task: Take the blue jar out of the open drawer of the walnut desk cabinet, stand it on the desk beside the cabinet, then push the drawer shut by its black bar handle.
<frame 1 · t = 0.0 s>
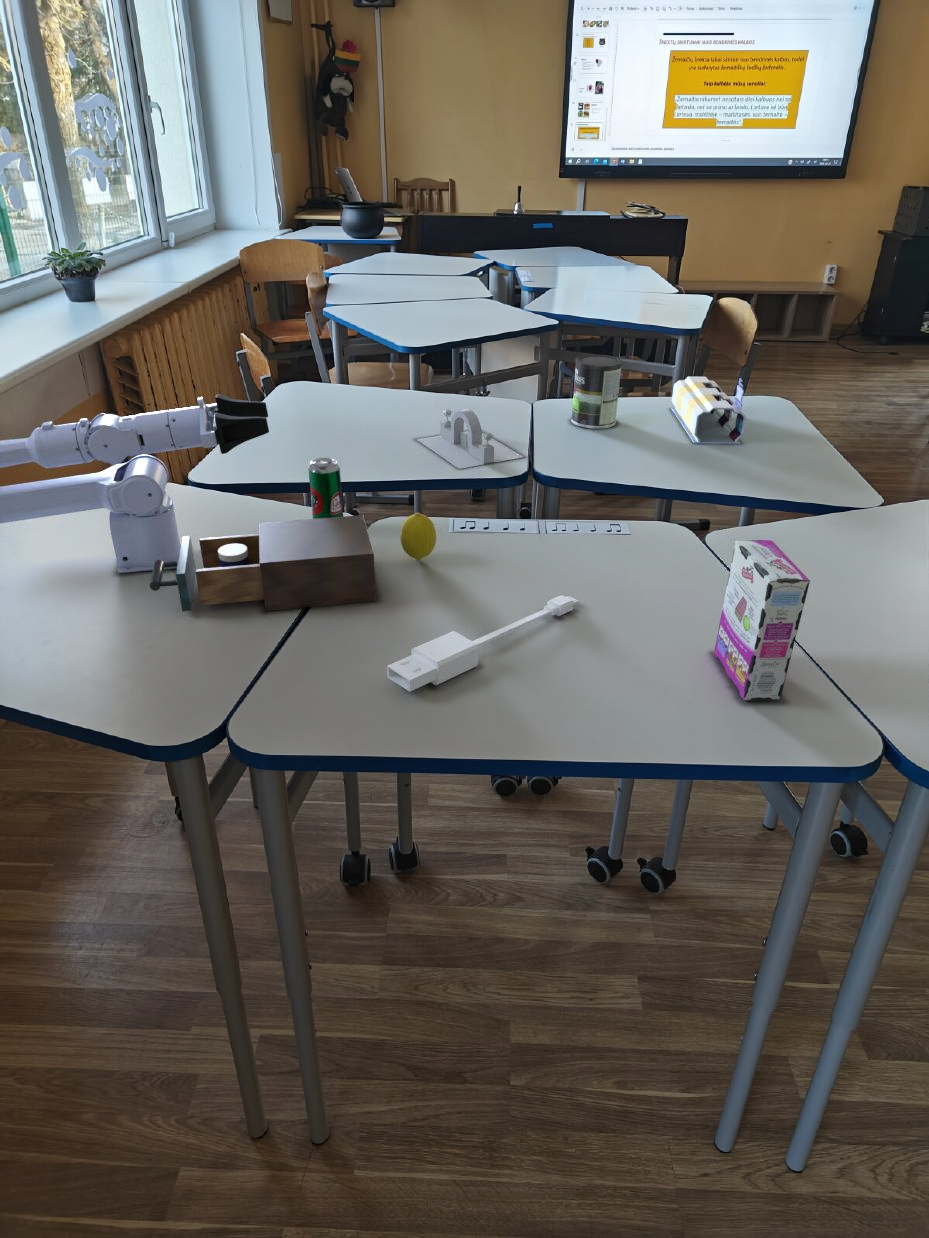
hand: (267, 417, 126), 22 cm above the table, tool horizontal, fingers open, 7 cm apart
lemon: (418, 561, 135), on the table
coffee can: (593, 423, 196), on the table
candy bar box: (746, 677, 107), on the table
cabinet: (318, 584, 127), on the table
charging cable: (489, 647, 113), on the table
gateway: (468, 449, 180), on the table
blue jar: (236, 579, 124), point 2 cm above the table, touching drawer
diorama: (703, 426, 195), on the table
soda can: (329, 531, 144), on the table
drawer: (219, 569, 123), point 4 cm above the table, slide at 10.0 cm, touching blue jar
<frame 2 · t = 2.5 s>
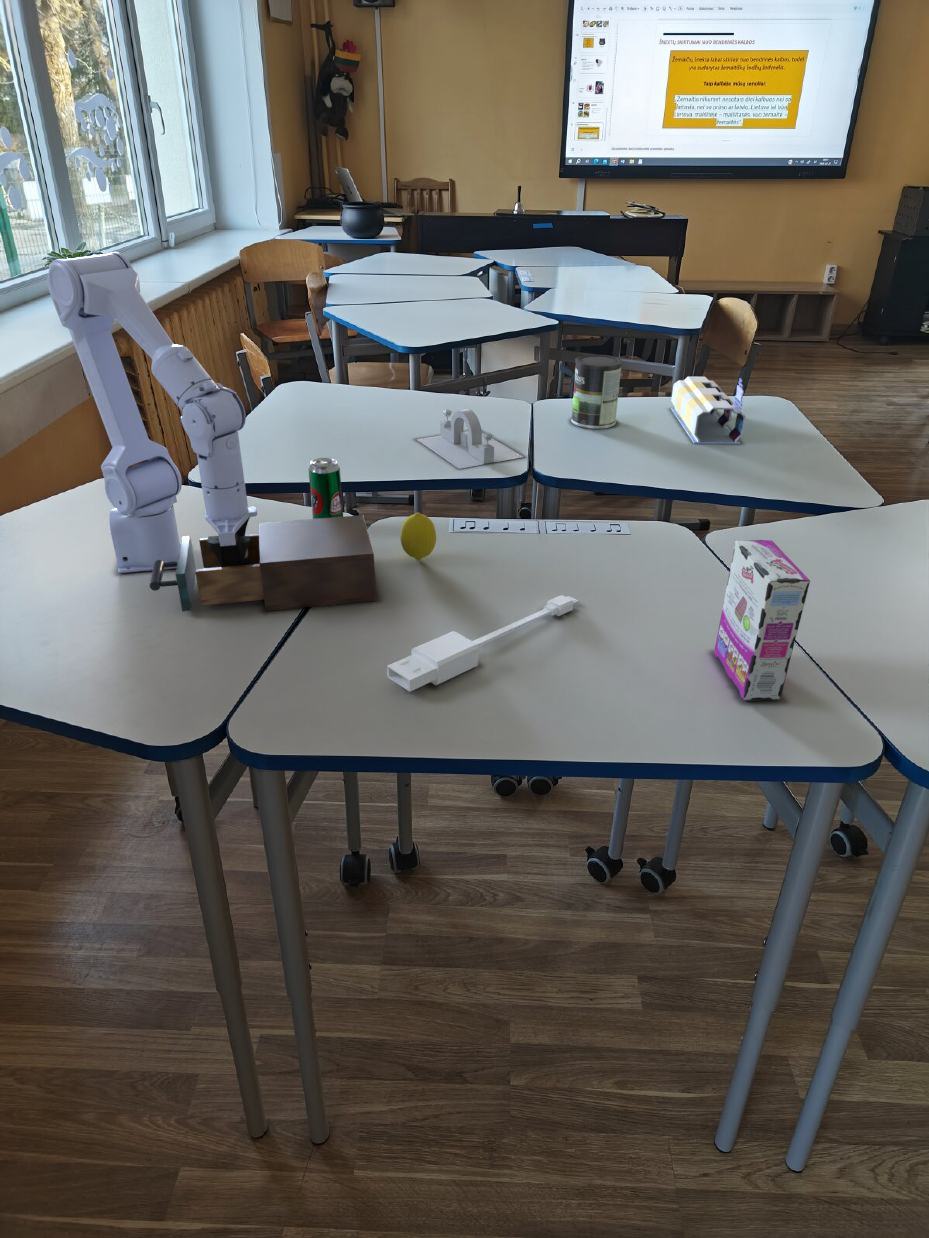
hand: (236, 570, 123), 3 cm above the table, tool pointing down, fingers open, 6 cm apart
drawer: (219, 569, 123), point 4 cm above the table, slide at 10.0 cm, touching blue jar, gripper
everything else where it was.
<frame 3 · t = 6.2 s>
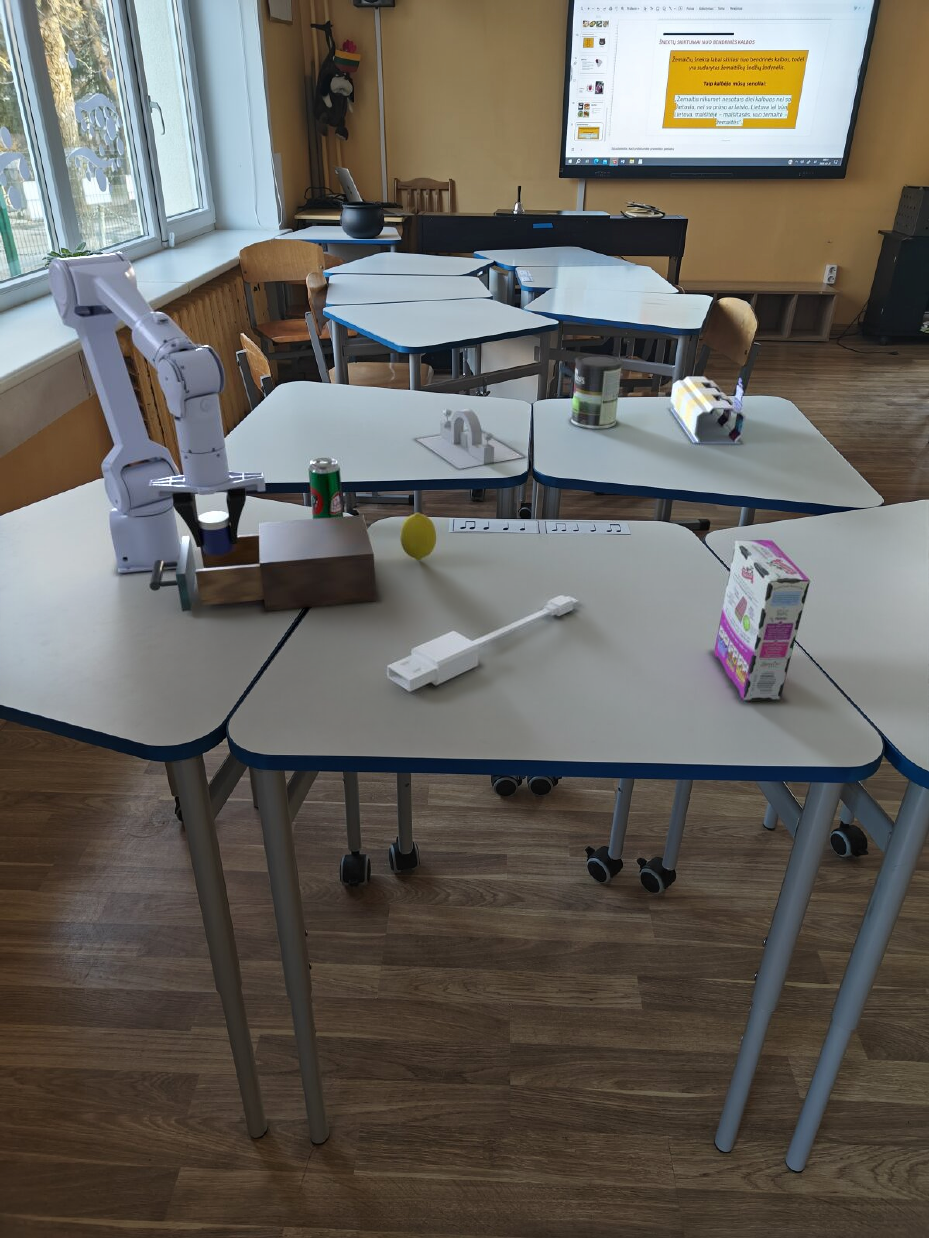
hand: (217, 542, 116), 10 cm above the table, tool pointing down, fingers closed on blue jar, 4 cm apart
blue jar: (218, 549, 117), point 9 cm above the table, touching gripper
drawer: (219, 569, 123), point 4 cm above the table, slide at 10.0 cm
everything else where it was.
when the fingers open (1 cm above the table, at t = 9.5 s): blue jar stays where it is, on the table.
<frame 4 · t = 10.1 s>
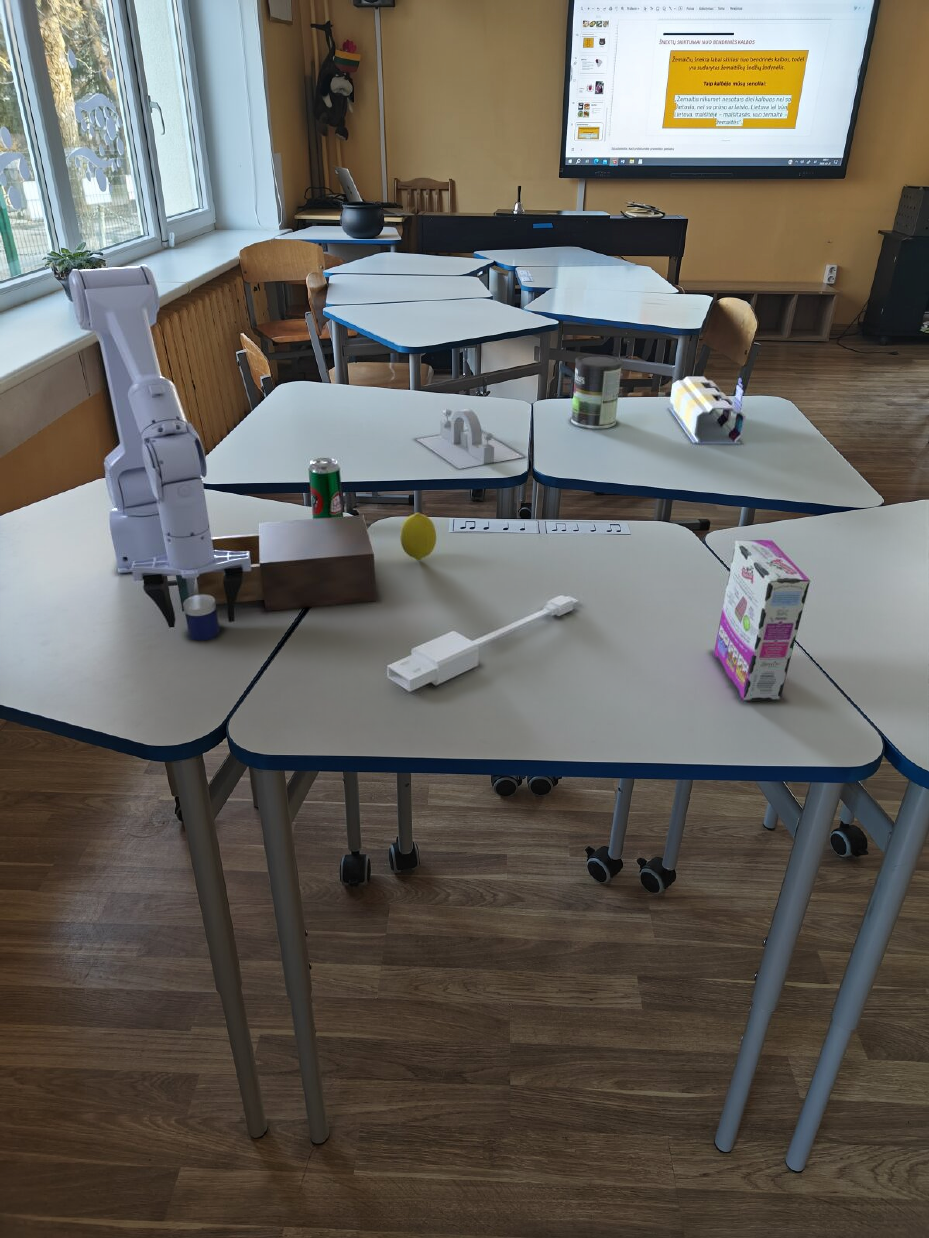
hand: (202, 621, 114), 2 cm above the table, tool pointing down, fingers open, 7 cm apart
blue jar: (204, 632, 115), on the table
everything else where it was.
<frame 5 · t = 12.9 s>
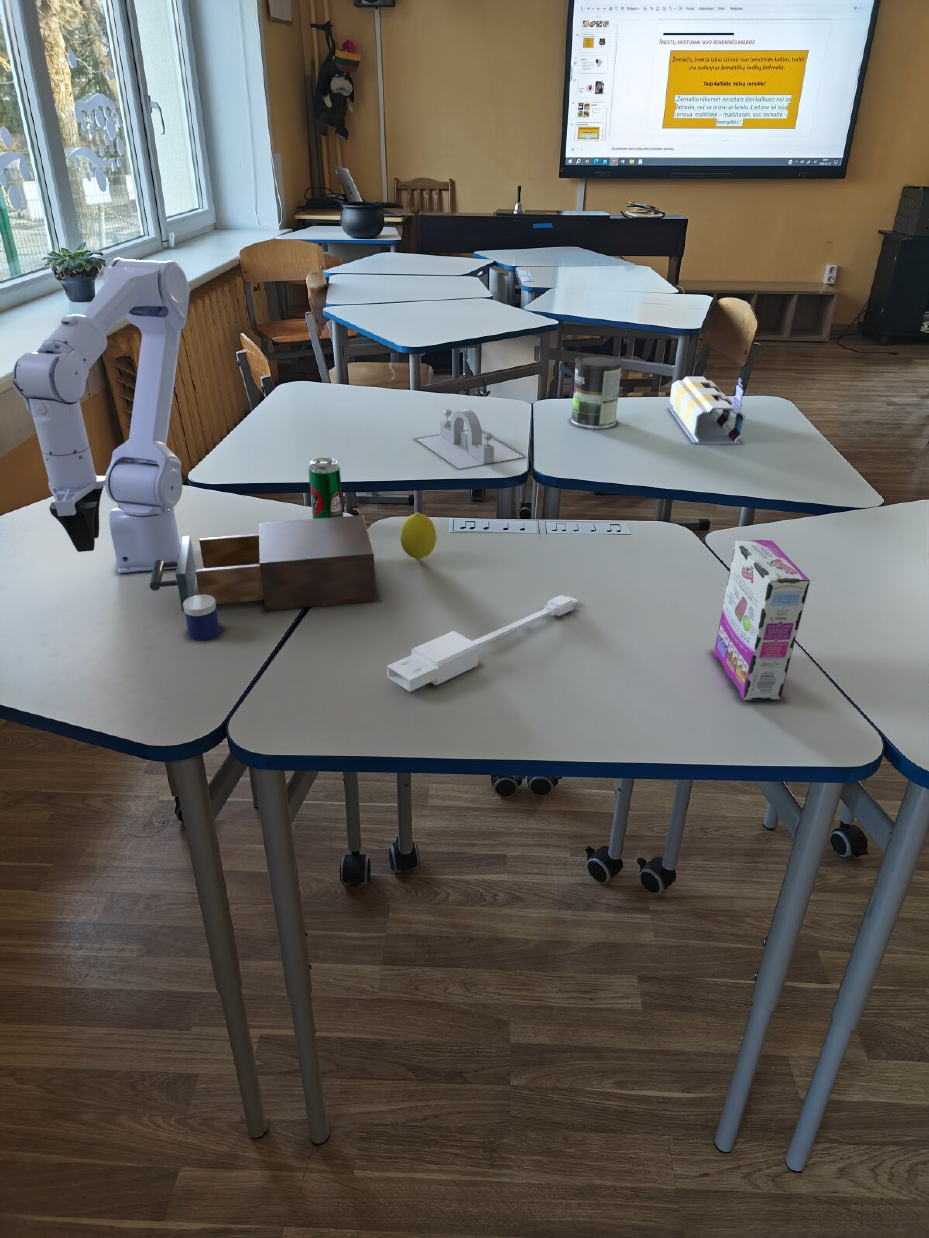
hand: (88, 543, 117), 9 cm above the table, tool pointing down, fingers open, 3 cm apart
nothing on the table moved.
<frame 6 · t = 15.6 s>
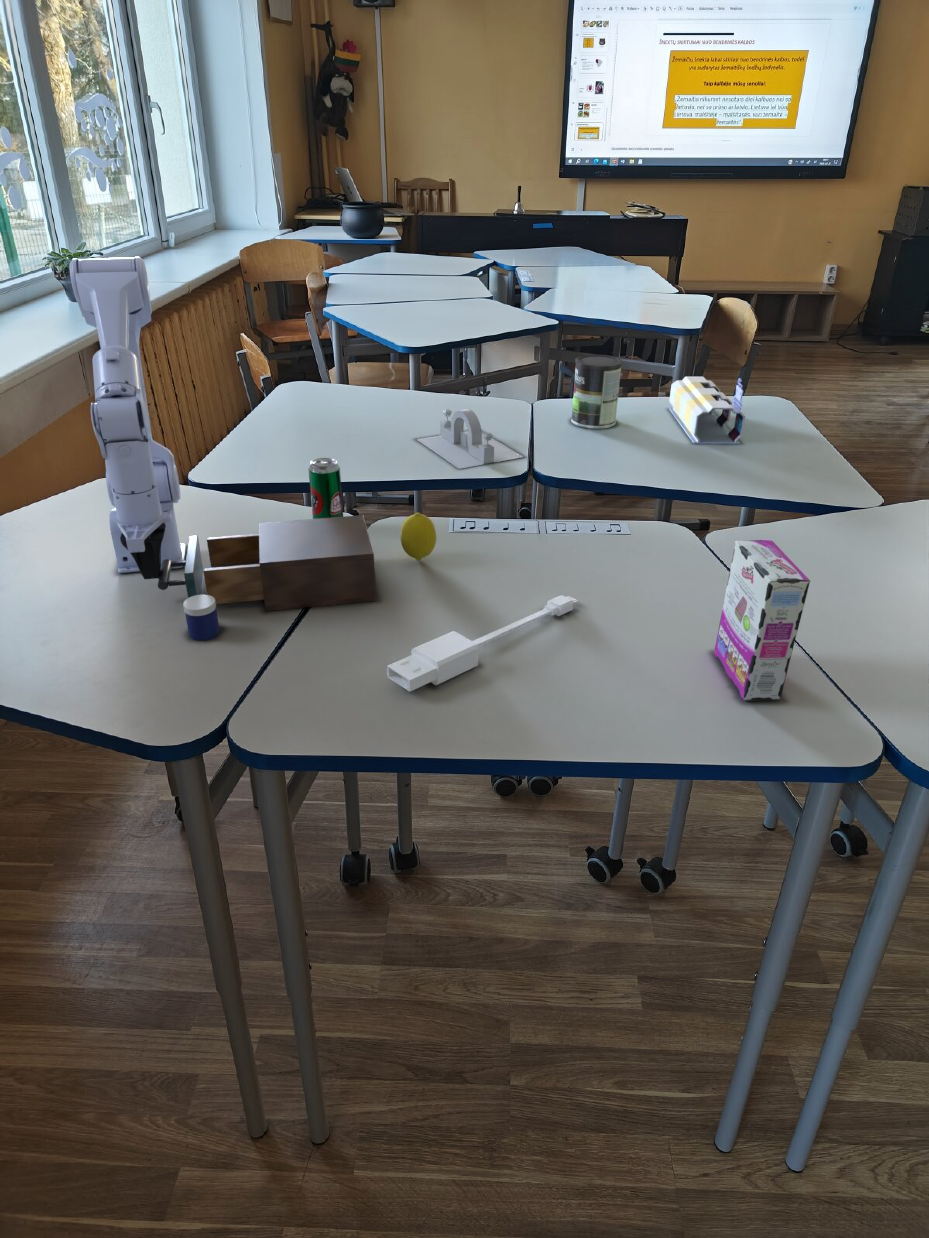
hand: (152, 576, 121), 4 cm above the table, tool pointing down, fingers closed, pressing on drawer
drawer: (227, 568, 123), point 4 cm above the table, slide at 8.9 cm, touching gripper
everything else where it was.
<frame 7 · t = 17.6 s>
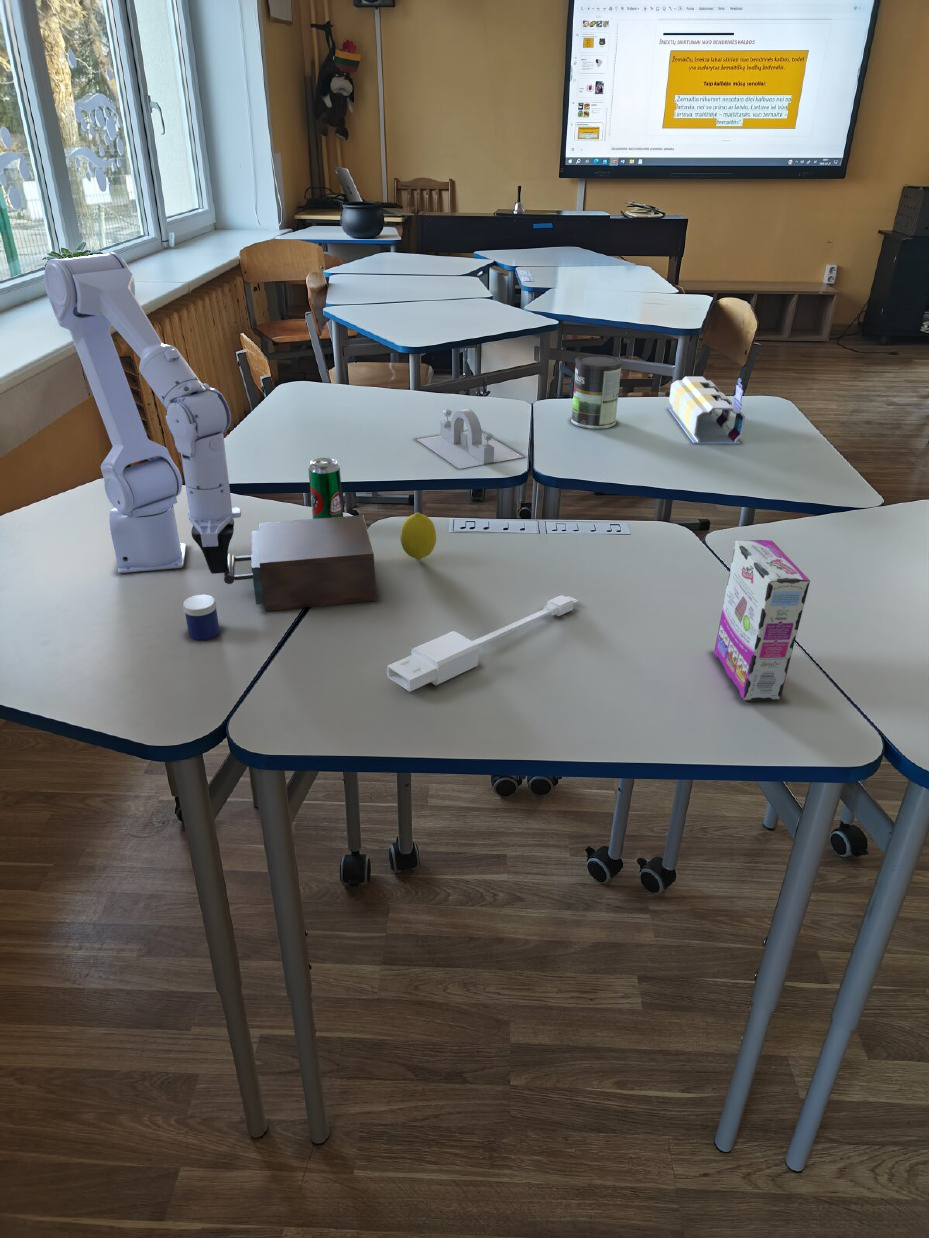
hand: (218, 571, 123), 4 cm above the table, tool pointing down, fingers closed, pressing on drawer
drawer: (290, 563, 125), point 4 cm above the table, slide at 0.0 cm, touching cabinet, gripper
everything else where it was.
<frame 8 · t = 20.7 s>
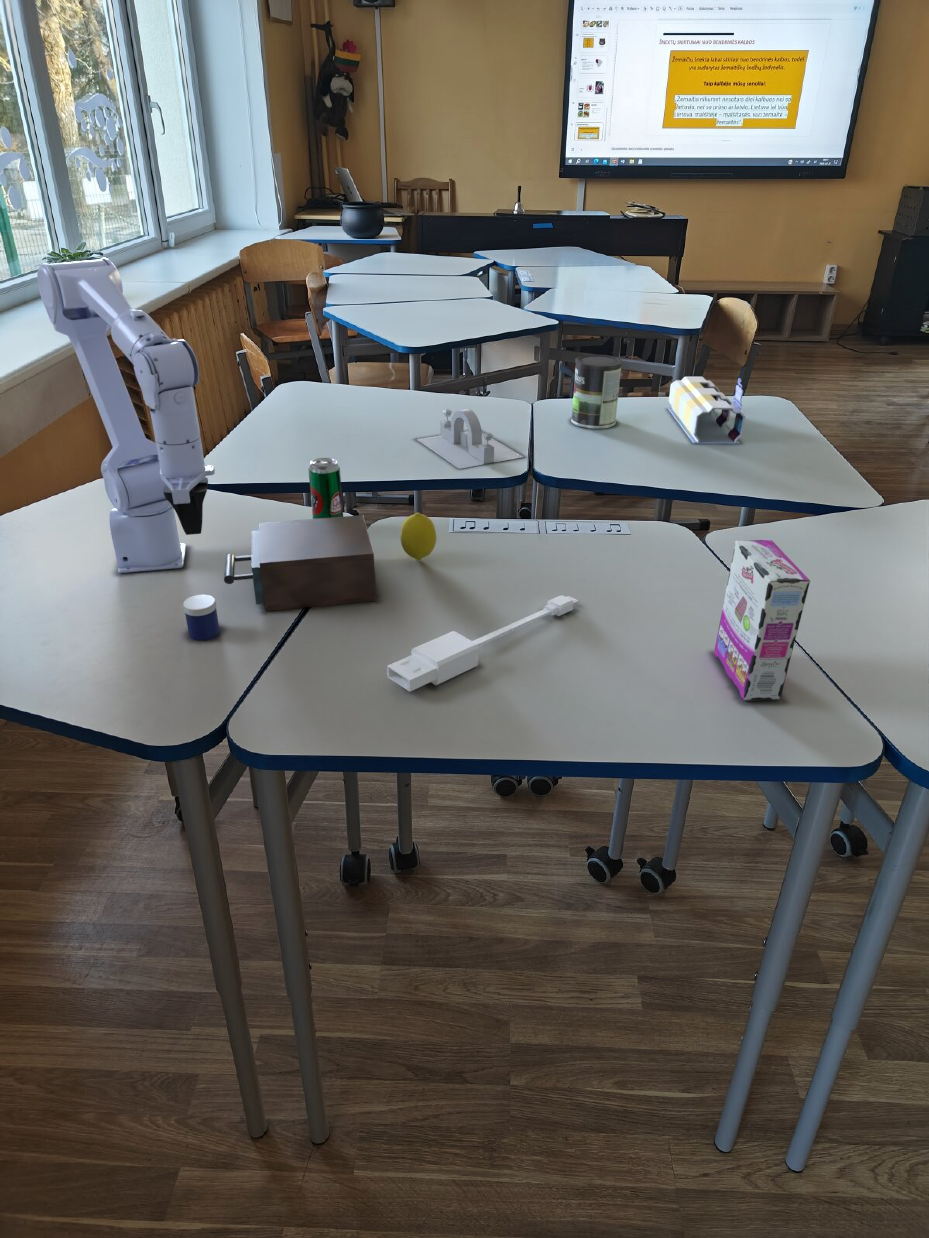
hand: (193, 532, 119), 10 cm above the table, tool pointing down, fingers closed
drawer: (290, 563, 125), point 4 cm above the table, slide at 0.0 cm, touching cabinet
everything else where it was.
at the end: blue jar inside the target area (0.2 cm from its centre), on the table; blue jar tilted 0°; drawer slide at 0.0 cm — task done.
